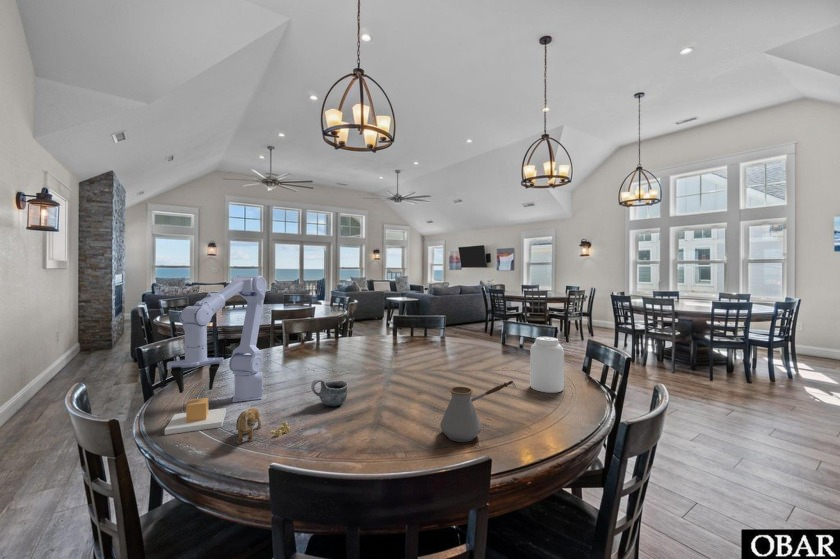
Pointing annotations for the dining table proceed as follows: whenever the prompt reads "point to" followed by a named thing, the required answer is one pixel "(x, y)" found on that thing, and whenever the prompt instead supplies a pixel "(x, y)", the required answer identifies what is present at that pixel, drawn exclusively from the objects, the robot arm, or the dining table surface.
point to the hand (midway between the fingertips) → (196, 390)
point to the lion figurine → (247, 423)
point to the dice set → (282, 429)
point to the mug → (331, 391)
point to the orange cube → (197, 410)
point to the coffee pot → (464, 414)
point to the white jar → (547, 365)
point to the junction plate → (196, 422)
